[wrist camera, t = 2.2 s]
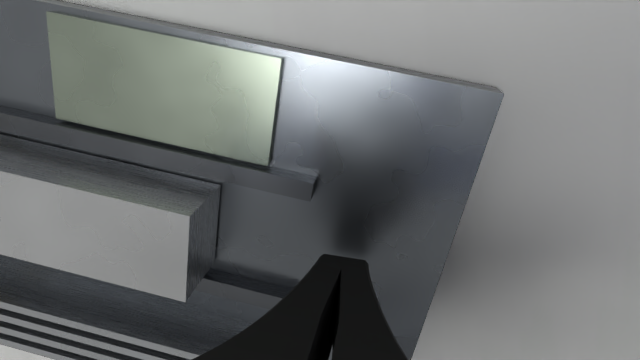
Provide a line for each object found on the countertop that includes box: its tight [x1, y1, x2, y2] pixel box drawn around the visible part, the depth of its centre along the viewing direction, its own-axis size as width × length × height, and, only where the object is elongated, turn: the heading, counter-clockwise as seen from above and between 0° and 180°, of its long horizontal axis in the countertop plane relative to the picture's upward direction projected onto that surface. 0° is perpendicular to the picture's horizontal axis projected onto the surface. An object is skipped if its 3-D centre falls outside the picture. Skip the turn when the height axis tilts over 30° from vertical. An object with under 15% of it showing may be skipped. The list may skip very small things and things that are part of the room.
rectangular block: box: [0, 134, 221, 302], centre depth 13 cm, size 10×3×2 cm, turn 80°
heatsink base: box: [0, 0, 504, 360], centre depth 13 cm, size 25×12×5 cm, turn 80°
